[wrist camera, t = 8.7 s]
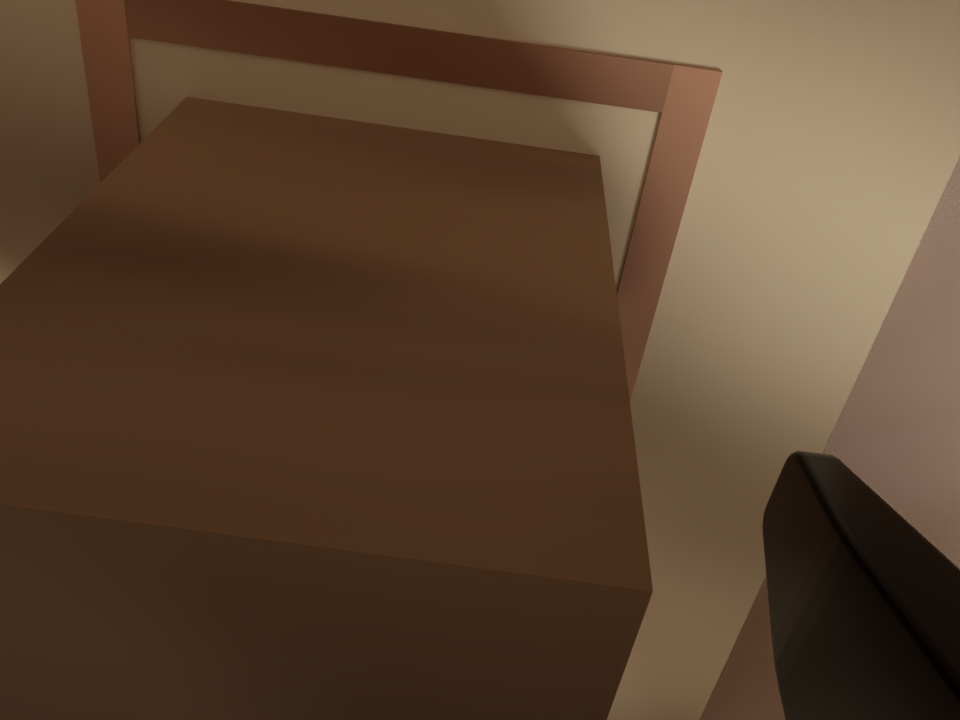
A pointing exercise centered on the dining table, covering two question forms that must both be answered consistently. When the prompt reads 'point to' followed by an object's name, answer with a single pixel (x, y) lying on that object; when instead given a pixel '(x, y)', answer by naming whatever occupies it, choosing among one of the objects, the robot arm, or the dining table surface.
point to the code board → (628, 196)
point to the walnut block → (319, 434)
